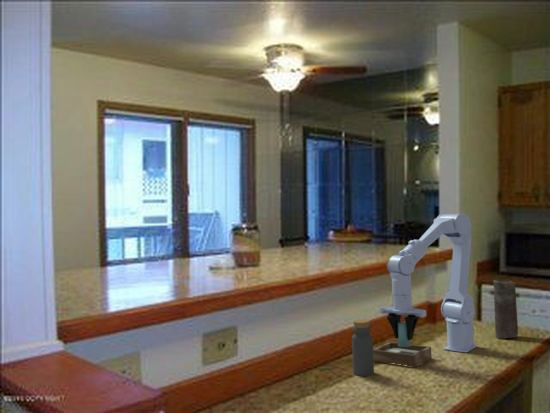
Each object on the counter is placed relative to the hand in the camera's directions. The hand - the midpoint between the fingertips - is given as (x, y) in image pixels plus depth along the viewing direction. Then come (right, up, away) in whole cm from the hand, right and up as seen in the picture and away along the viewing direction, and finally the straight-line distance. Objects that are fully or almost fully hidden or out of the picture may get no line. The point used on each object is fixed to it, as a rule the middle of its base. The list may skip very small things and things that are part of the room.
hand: (403, 338), depth 174 cm
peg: (0, -2, 0) cm, 2 cm away
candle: (+41, -5, +23) cm, 48 cm away
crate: (0, -7, +1) cm, 7 cm away
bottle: (-14, -7, -11) cm, 20 cm away
